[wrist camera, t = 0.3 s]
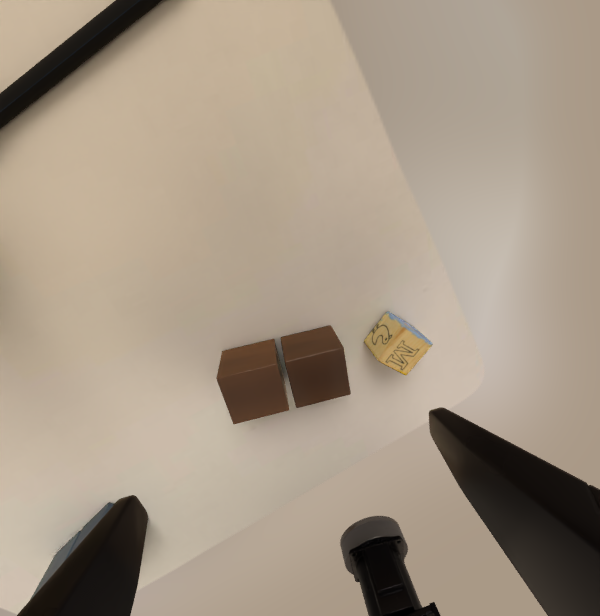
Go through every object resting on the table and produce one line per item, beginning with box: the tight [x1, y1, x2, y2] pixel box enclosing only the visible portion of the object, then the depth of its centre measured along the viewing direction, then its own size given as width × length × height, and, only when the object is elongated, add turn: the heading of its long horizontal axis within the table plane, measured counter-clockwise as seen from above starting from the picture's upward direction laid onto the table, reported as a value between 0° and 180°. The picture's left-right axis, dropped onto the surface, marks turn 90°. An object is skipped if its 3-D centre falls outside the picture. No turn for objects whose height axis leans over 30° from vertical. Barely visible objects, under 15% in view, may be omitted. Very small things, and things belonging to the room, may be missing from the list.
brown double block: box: [217, 326, 350, 424], centre depth 21 cm, size 4×8×4 cm, turn 101°
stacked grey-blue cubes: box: [31, 503, 114, 599], centre depth 25 cm, size 4×8×4 cm, turn 135°
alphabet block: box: [364, 312, 433, 375], centre depth 22 cm, size 3×3×3 cm
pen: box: [0, 0, 162, 128], centre depth 14 cm, size 1×19×1 cm, turn 123°
